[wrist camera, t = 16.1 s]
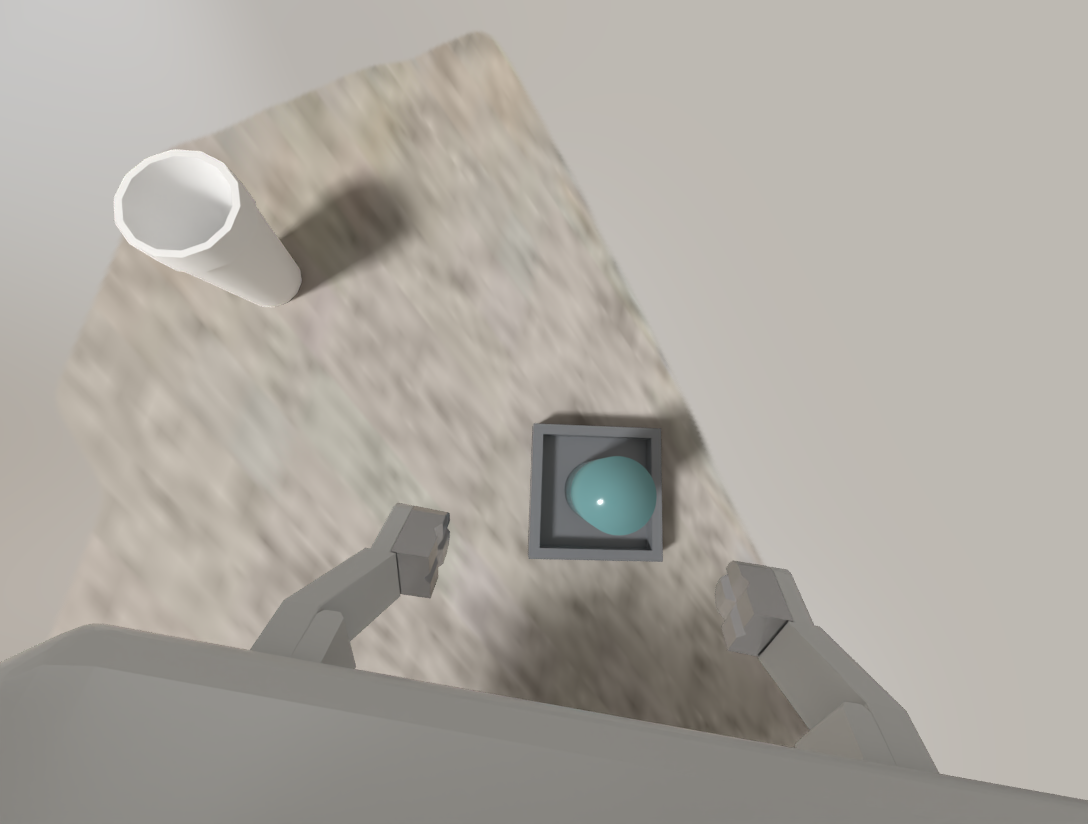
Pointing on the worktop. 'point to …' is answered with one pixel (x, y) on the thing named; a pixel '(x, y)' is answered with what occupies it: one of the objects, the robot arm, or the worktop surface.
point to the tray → (549, 512)
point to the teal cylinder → (612, 494)
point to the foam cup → (205, 226)
